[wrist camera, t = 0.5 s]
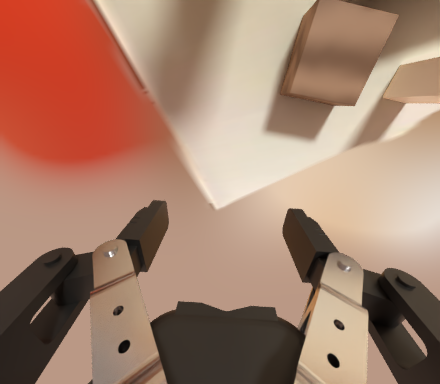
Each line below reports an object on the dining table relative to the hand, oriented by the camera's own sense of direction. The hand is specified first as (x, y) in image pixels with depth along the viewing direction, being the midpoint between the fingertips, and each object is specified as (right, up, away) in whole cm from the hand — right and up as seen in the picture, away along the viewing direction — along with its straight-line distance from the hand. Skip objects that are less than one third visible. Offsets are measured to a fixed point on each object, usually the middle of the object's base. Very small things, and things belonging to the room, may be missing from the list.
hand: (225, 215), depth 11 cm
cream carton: (+33, +21, +20) cm, 44 cm away
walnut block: (+17, +24, +19) cm, 35 cm away
